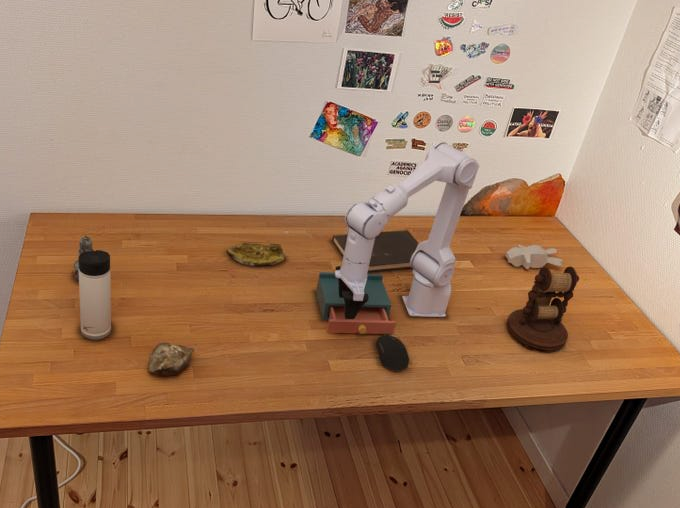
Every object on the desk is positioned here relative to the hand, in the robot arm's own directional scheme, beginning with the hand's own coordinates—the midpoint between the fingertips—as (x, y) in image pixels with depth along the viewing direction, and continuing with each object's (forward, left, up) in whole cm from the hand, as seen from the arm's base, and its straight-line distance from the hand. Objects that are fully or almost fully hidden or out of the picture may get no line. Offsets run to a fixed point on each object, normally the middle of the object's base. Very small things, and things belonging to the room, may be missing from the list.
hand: (346, 307), depth 166 cm
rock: (+38, +10, -10) cm, 40 cm away
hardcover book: (-18, -37, -10) cm, 43 cm away
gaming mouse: (-11, +4, -10) cm, 15 cm away
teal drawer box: (-5, -13, -10) cm, 17 cm away
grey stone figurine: (+58, -21, -10) cm, 62 cm away
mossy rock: (+17, -33, -10) cm, 39 cm away
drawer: (-5, -7, -9) cm, 12 cm away
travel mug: (+54, -1, -10) cm, 55 cm away
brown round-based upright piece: (-50, -3, -10) cm, 51 cm away
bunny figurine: (-62, -35, -10) cm, 72 cm away
